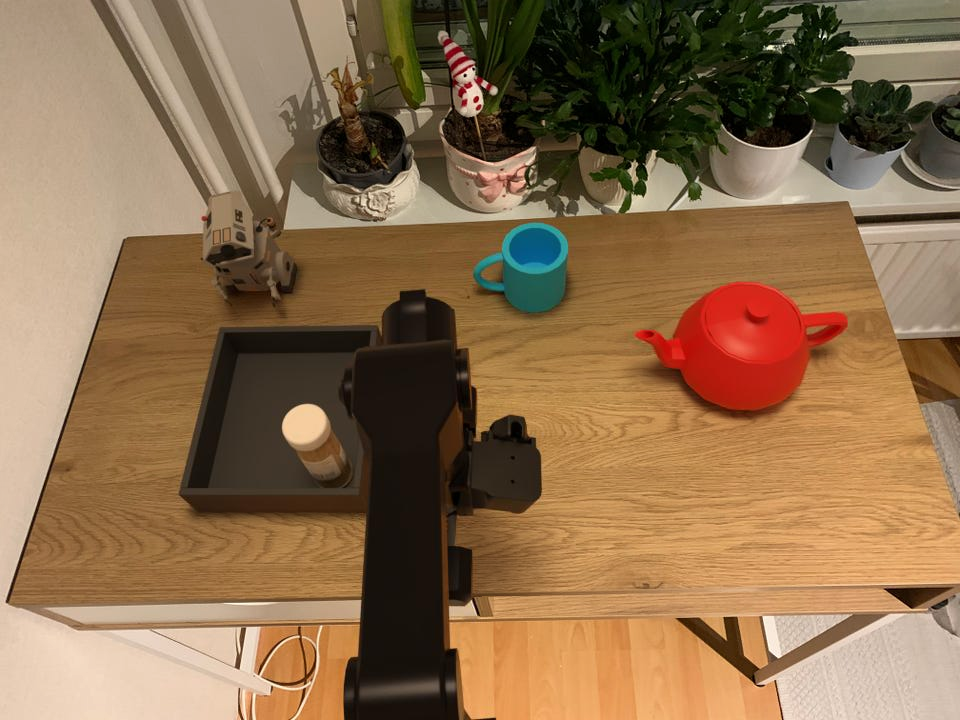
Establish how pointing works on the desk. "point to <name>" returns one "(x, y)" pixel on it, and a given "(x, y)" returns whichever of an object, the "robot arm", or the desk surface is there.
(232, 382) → the dark grey tray
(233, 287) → the figurine
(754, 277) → the desk surface
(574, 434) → the desk surface
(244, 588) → the desk surface
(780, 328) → the teapot
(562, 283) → the mug
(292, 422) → the sprinkles bottle
